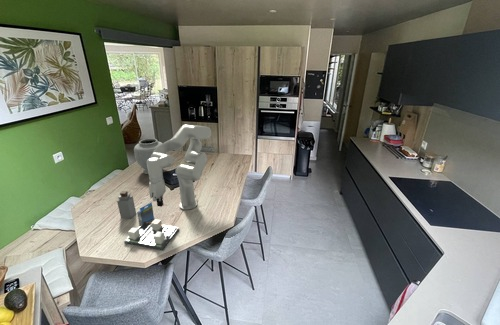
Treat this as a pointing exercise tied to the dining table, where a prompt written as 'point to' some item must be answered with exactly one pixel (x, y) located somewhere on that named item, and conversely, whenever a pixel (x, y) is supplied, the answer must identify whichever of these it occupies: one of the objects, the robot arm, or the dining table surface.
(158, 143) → the ceramic vase
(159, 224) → the block
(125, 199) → the perfume bottle
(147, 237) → the panel
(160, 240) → the breaker high
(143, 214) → the label tape box
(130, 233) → the block
